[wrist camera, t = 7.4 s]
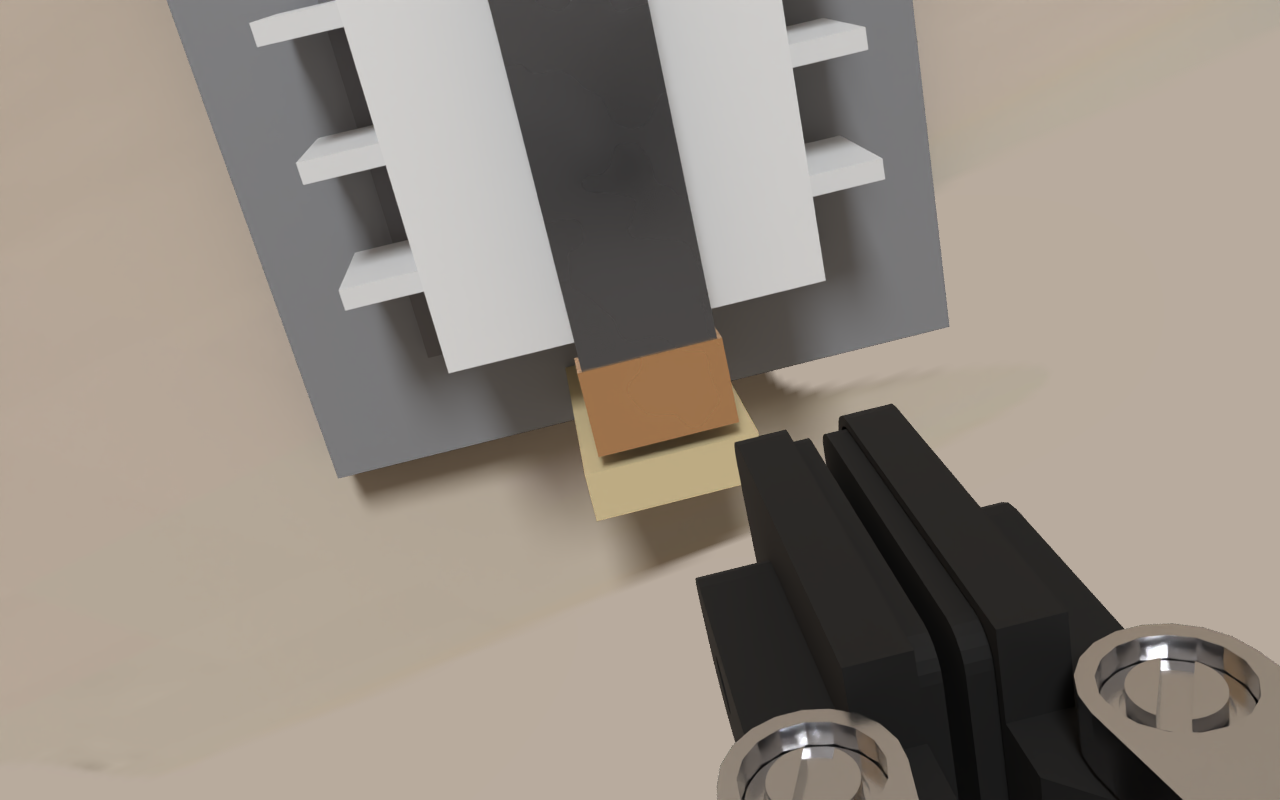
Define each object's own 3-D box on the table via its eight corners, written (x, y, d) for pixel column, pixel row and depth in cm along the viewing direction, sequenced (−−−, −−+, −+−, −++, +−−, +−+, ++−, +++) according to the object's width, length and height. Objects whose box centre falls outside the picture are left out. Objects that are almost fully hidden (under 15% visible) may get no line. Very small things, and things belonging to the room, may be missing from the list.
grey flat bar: (385, -342, 21) (376, -369, 19) (576, -385, 21) (582, -415, 19) (585, 437, 26) (590, 463, 25) (736, 400, 26) (750, 423, 25)
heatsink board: (835, -488, 26) (981, -670, 19) (930, 311, 34) (1061, 419, 26) (71, -318, 26) (-110, -431, 18) (344, 456, 34) (300, 611, 26)
